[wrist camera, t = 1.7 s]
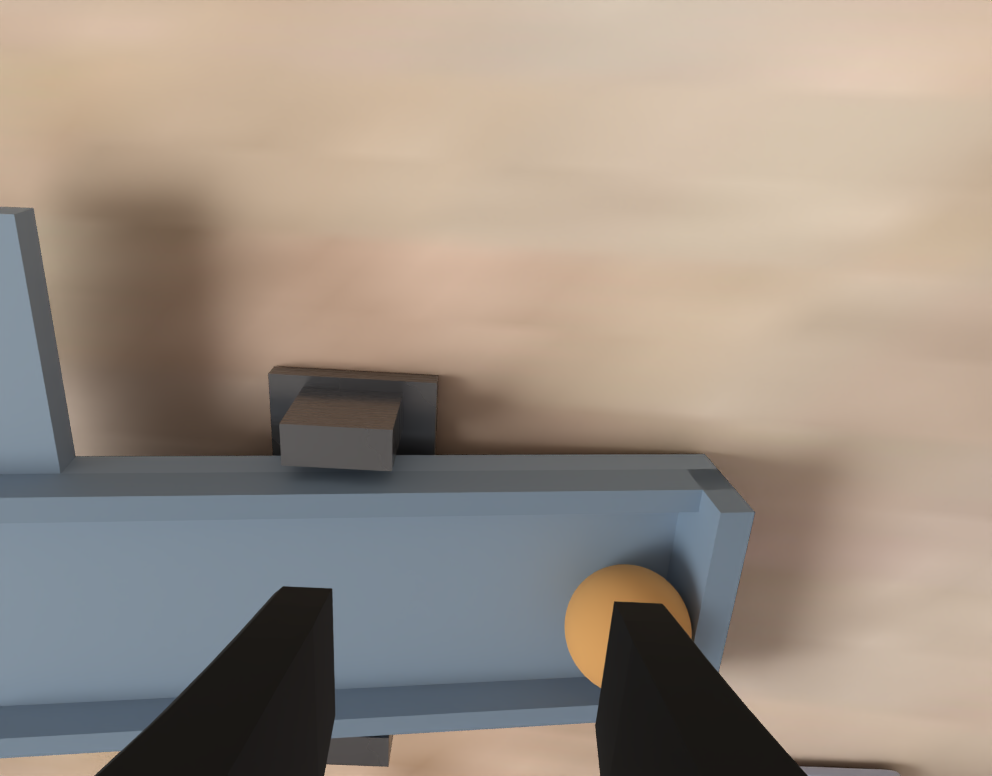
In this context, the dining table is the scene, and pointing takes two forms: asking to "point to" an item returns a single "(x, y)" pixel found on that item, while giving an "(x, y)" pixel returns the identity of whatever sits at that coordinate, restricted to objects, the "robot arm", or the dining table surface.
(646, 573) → the ball
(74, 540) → the blue-grey piece
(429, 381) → the stand
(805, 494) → the dining table surface
